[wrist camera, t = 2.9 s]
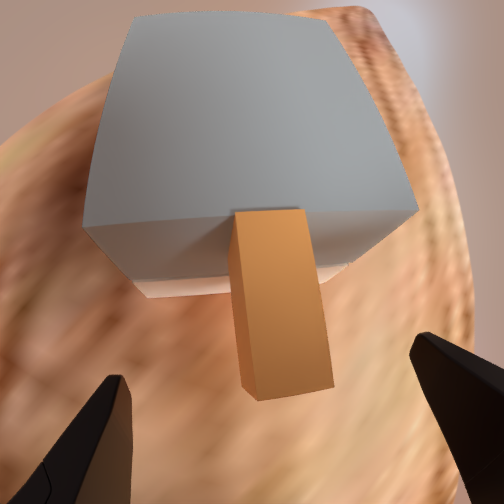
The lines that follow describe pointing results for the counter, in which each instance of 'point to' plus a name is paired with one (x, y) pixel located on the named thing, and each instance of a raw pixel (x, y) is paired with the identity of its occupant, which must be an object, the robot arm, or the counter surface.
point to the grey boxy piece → (245, 175)
